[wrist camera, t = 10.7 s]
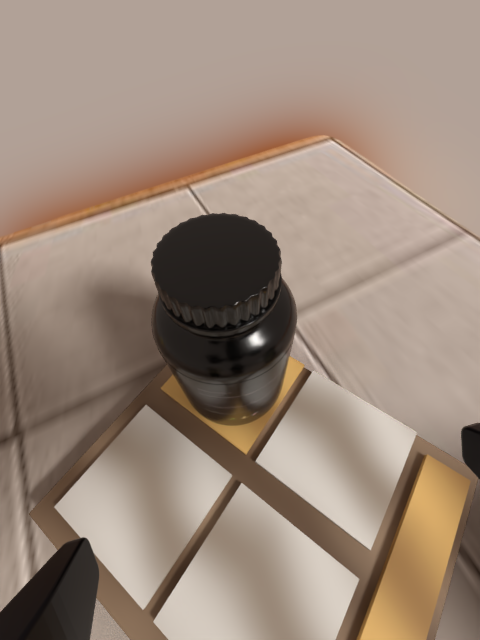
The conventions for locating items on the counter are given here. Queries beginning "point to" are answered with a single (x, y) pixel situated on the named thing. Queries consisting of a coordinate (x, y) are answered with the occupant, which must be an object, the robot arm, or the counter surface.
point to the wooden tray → (266, 518)
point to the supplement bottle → (223, 315)
